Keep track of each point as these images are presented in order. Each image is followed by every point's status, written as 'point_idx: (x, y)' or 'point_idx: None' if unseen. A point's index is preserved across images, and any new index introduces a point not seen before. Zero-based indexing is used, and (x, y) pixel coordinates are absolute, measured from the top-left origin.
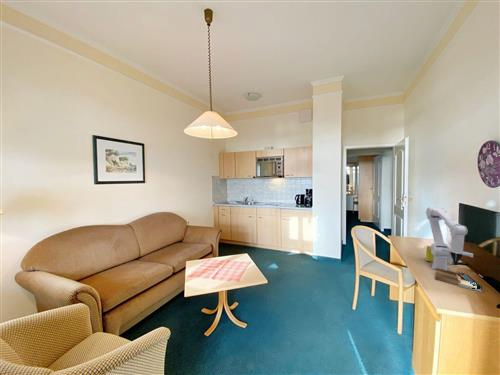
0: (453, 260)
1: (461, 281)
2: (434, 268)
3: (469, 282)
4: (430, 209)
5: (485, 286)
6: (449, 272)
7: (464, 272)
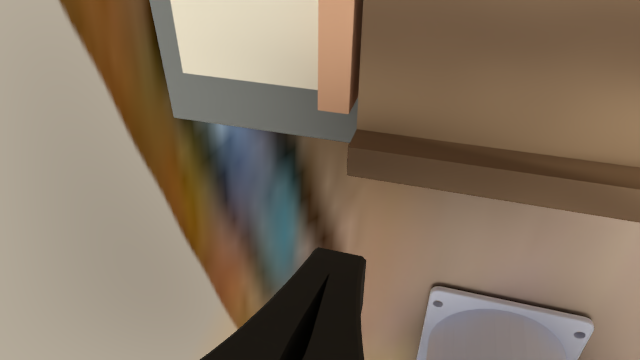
0: (357, 343)
1: (317, 9)
2: (567, 316)
3: (235, 47)
4: None
5: (131, 100)
6: (447, 152)
7: None
